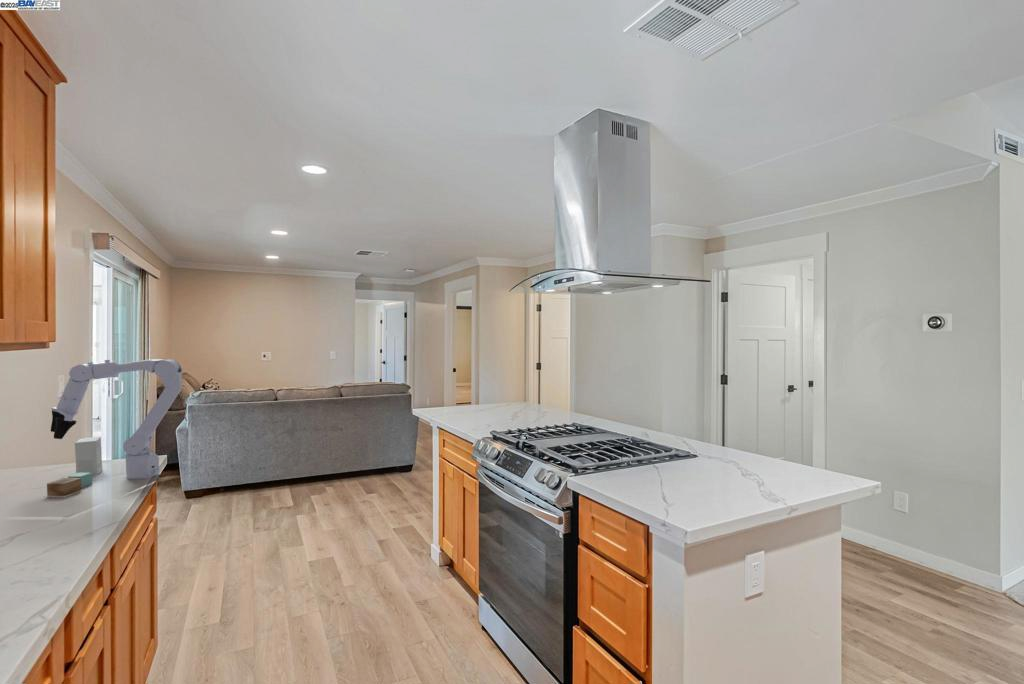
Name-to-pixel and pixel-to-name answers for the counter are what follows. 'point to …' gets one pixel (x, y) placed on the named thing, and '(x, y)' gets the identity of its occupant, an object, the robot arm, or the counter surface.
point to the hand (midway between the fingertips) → (55, 435)
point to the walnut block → (64, 487)
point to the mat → (63, 496)
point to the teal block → (83, 478)
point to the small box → (88, 455)
